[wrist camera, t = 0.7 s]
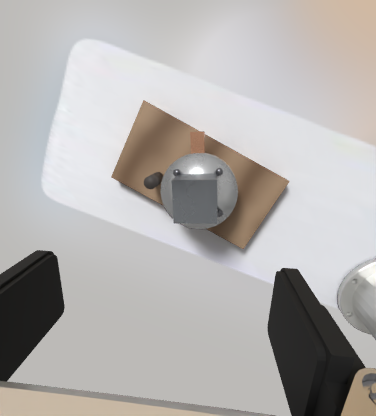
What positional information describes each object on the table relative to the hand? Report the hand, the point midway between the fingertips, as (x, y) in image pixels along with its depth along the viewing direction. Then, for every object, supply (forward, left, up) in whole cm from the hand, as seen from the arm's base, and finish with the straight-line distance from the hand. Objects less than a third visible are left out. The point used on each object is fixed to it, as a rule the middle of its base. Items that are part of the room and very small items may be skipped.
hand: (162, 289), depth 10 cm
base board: (+1, -1, -25) cm, 25 cm away
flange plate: (+1, -1, -20) cm, 20 cm away
